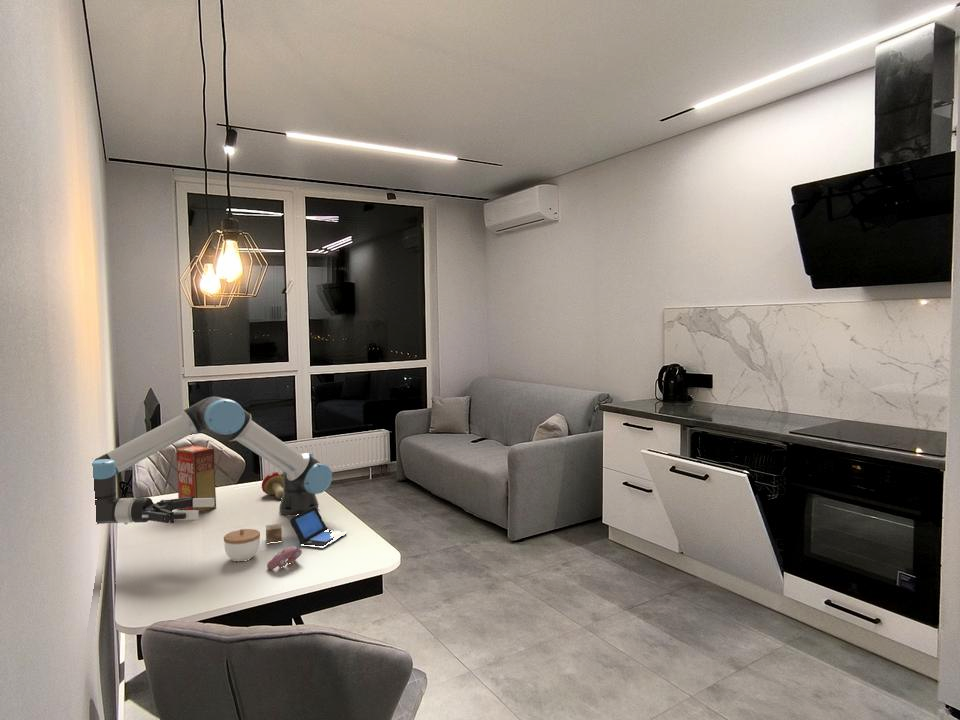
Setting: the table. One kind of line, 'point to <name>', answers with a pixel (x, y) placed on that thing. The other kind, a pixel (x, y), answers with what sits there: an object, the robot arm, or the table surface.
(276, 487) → the decorative mushroom
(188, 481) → the food packaging
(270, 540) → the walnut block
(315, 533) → the handheld game console
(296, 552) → the video game controller
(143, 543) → the table surface
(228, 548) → the lidded jar
